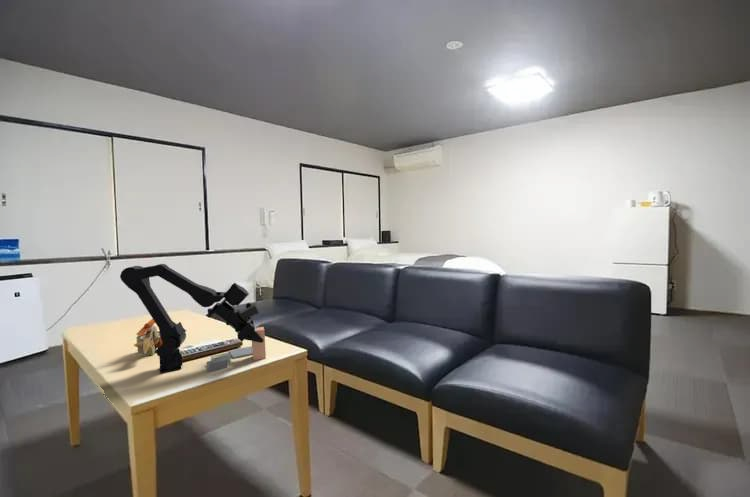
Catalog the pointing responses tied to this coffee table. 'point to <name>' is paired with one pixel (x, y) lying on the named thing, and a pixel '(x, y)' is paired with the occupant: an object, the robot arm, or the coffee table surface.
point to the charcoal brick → (216, 364)
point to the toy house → (149, 339)
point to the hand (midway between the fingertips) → (262, 339)
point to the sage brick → (224, 355)
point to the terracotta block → (259, 345)
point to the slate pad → (241, 352)
